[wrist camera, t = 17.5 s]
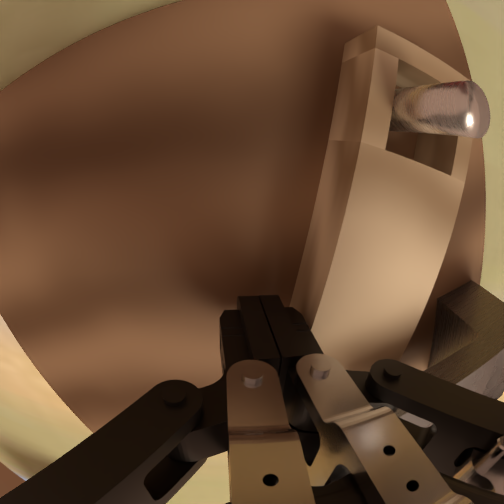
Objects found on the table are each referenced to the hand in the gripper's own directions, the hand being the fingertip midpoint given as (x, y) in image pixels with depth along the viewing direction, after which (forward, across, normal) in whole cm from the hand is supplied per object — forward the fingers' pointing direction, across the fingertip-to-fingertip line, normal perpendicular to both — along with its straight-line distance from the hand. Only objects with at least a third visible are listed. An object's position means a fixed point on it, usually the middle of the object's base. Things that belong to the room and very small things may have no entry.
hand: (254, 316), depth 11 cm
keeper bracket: (+1, -10, +4) cm, 11 cm away
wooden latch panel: (+2, 0, -1) cm, 3 cm away
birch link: (+1, -4, -1) cm, 5 cm away
